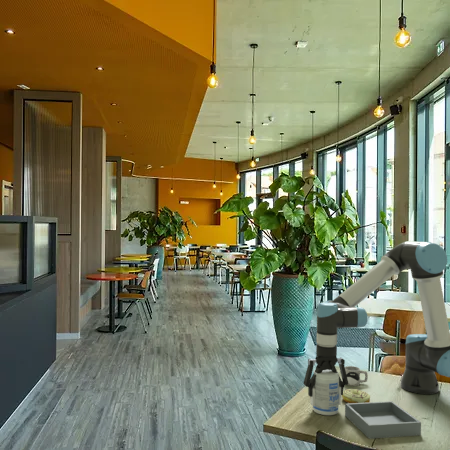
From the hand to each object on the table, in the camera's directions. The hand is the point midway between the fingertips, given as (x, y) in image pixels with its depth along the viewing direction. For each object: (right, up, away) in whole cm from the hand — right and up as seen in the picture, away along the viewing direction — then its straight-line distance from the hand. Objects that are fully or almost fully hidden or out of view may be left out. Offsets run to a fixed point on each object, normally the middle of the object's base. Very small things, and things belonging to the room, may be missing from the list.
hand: (325, 404), depth 176 cm
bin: (+17, -3, -11) cm, 21 cm away
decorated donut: (+14, -3, +11) cm, 18 cm away
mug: (+20, -3, +31) cm, 37 cm away
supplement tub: (0, -3, 0) cm, 3 cm away
